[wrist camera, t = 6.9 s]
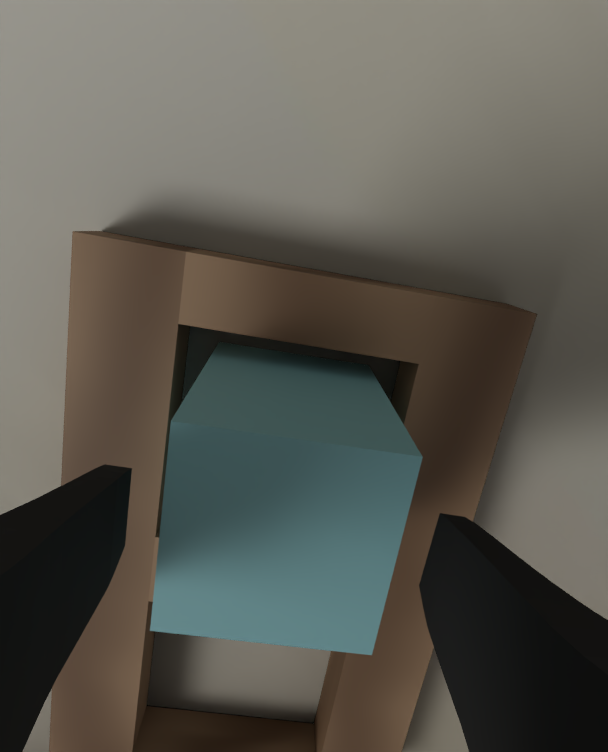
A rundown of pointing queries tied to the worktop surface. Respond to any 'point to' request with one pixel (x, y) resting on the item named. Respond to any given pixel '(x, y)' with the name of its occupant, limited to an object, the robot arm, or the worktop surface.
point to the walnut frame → (150, 449)
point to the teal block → (282, 503)
